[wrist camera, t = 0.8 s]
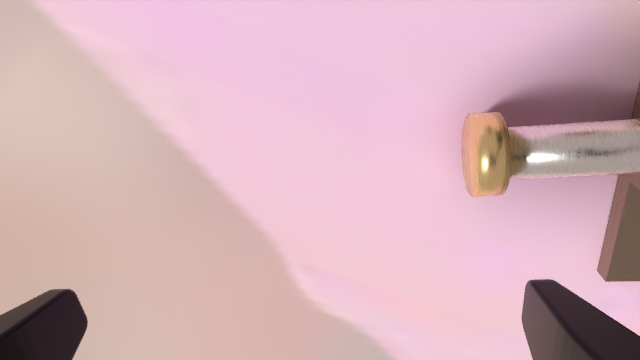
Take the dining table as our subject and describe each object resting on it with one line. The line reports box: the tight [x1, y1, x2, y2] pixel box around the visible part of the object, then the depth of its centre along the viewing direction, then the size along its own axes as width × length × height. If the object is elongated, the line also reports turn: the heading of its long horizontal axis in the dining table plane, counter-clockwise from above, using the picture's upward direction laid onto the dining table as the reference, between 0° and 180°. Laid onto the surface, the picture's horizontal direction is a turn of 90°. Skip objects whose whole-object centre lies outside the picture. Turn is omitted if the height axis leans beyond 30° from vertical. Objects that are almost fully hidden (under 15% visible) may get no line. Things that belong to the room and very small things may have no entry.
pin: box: [462, 112, 640, 197], centre depth 15 cm, size 12×3×3 cm, turn 96°
